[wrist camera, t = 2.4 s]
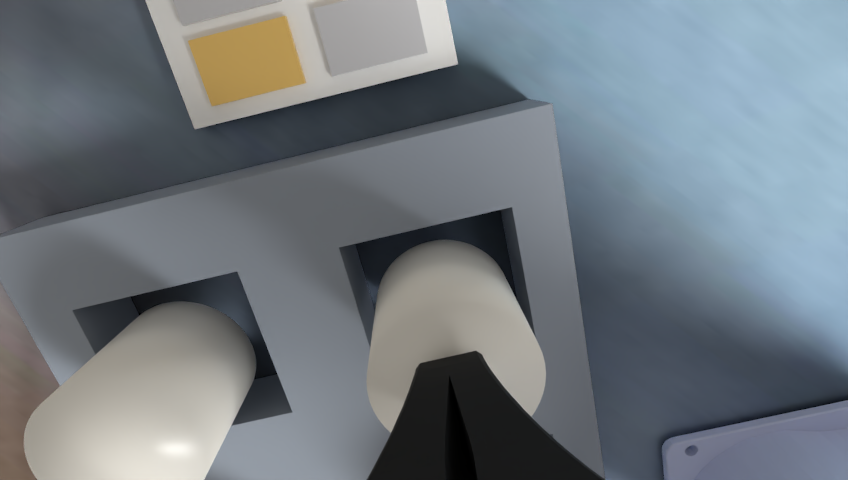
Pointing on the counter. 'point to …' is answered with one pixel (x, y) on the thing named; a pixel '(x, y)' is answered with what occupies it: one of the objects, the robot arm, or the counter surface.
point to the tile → (294, 49)
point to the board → (318, 277)
